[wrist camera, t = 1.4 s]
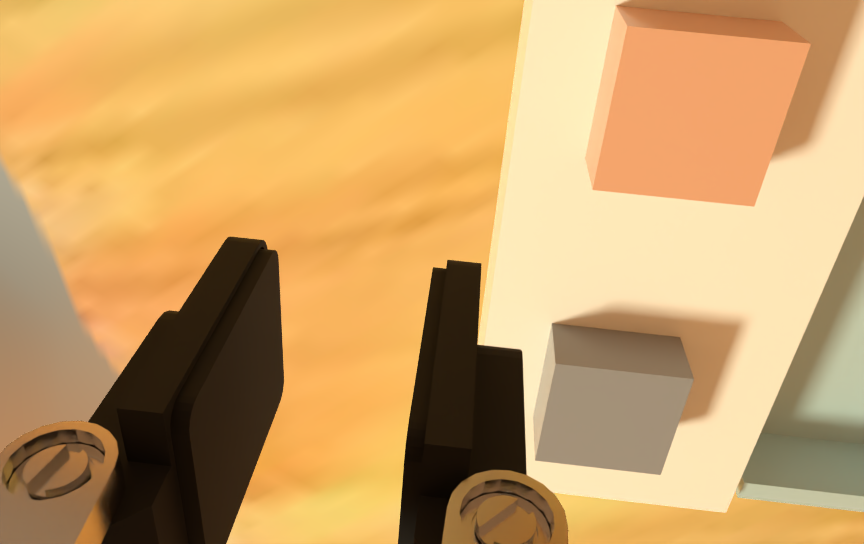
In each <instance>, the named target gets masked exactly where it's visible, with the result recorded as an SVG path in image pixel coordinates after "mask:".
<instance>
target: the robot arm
mask: <svg viewBox="0 0 864 544" xmlns="http://www.w3.org/2000/svg"><path fill="white" fill-rule="evenodd" d="M480 280H481V263H472V262H463V261H453V260H447V268H446V269H443V268H434V267H433V271H432V278H431V284H430V290H429V297H428V303H427V310H426V316H425V322H424V329H423V335H422V342H421V348H420V354H419V361H418V367H417V373H416V380H415V386H414V393H413V399H412V405H411V412H410V418H409V425H408V432H407V440H406V449H405V460H404V473H403V486H402V499H401V512H400V525H399V539H398V544H568V524H567V519H566V515H565V510H564V509H563V507H562V505H561V504H560V502H559V500H558V499H557V497H556V496H555V495H554V494H553V493H552V492H551V491H550V490H549V489H548V488H547V487H546V486H545V485H544V484H542V483H540V482H539V481H537V480H535V479H533V478H531V477H530V476H528V475H527V470H526V440H525V410H524V380H523V355H522V350H521V349H512V348H503V347H494V346H485V345H477V338H478V319H479V299H480ZM283 385H284V371H283V349H282V327H281V305H280V284H279V262H278V254H277V251H276V250H267V245H266V242H265V241H264V240H257V239H247V238H238V237H228V238H227V239H226V240H225V242H224V243H223V245H222V246H221V248H220V249H219V251H218V252H217V254H216V255H215V257H214V259H213V260H212V262H211V263H210V265H209V266H208V268H207V269H206V271H205V272H204V274H203V275H202V277H201V279H200V280H199V282H198V283H197V285H196V286H195V288H194V289H193V291H192V292H191V294H190V295H189V297H188V299H187V300H186V302H185V303H184V305H183V306H182V308H181V309H180V311H179V312H177V311H167V312H164V313H163V314H162V315H161V316H160V318H159V319H158V320H157V322H156V323H155V325H154V326H153V327H152V329H151V330H150V332H149V333H148V335H147V336H146V338H145V339H144V341H143V342H142V344H141V345H140V347H139V348H138V350H137V351H136V352H135V354H134V355H133V357H132V358H131V360H130V361H129V363H128V364H127V366H126V367H125V369H124V370H123V372H122V373H121V374H120V376H119V377H118V379H117V380H116V382H115V383H114V385H113V386H112V388H111V389H110V391H109V392H108V394H107V395H106V396H105V398H104V399H103V401H102V403H101V404H100V405H99V407H98V408H97V410H96V411H95V413H94V414H93V416H92V417H91V419H90V420H89V421H88V422H84V421H62V422H58V423H53V424H49V425H45V426H41V427H39V428H37V429H34V430H32V431H30V432H28V433H25V434H23V435H22V436H20V437H19V438H17V439H16V440H14V441H13V442H11V443H10V444H9V445H7V446H6V448H4V449H3V451H2V452H1V453H0V544H226V543H227V540H228V537H229V535H230V532H231V529H232V527H233V524H234V522H235V519H236V516H237V514H238V511H239V508H240V506H241V503H242V500H243V498H244V495H245V493H246V490H247V487H248V485H249V482H250V479H251V477H252V474H253V472H254V469H255V466H256V464H257V461H258V458H259V456H260V453H261V450H262V448H263V445H264V443H265V440H266V437H267V435H268V432H269V429H270V427H271V424H272V422H273V419H274V416H275V414H276V411H277V408H278V406H279V403H280V400H281V397H282V392H283Z"/></svg>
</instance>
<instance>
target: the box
mask: <svg viewBox="0 0 864 544" xmlns="http://www.w3.org/2000/svg"><path fill="white" fill-rule="evenodd" d="M736 494H737V497H738V498H747V499H755V500H764V501H773V502H781V503H790V504H799V505H807V506H816V507H824V508H833V509H842V510H850V511H859V512H864V197H863V199H862V201H861V204H860V206H859V208H858V210H857V213H856V215H855V217H854V220H853V222H852V224H851V226H850V229H849V231H848V233H847V236H846V238H845V240H844V243H843V245H842V247H841V249H840V252H839V254H838V256H837V259H836V261H835V263H834V266H833V268H832V270H831V272H830V275H829V277H828V279H827V282H826V284H825V286H824V289H823V291H822V293H821V295H820V298H819V300H818V302H817V305H816V307H815V309H814V311H813V314H812V316H811V318H810V321H809V323H808V325H807V328H806V330H805V332H804V334H803V337H802V339H801V341H800V344H799V346H798V348H797V351H796V353H795V355H794V357H793V360H792V362H791V364H790V367H789V369H788V371H787V374H786V376H785V378H784V380H783V383H782V385H781V387H780V390H779V392H778V394H777V396H776V399H775V401H774V403H773V406H772V408H771V410H770V413H769V415H768V417H767V419H766V422H765V424H764V426H763V429H762V431H761V433H760V436H759V438H758V440H757V442H756V445H755V447H754V449H753V452H752V454H751V456H750V459H749V461H748V463H747V465H746V468H745V470H744V472H743V475H742V477H741V479H740V481H739V484H738V486H737V488H736Z"/></svg>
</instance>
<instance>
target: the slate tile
mask: <svg viewBox="0 0 864 544" xmlns="http://www.w3.org/2000/svg"><path fill="white" fill-rule="evenodd" d="M693 381H694V377H693V374H692V371H691V368H690V365H689V362H688V359H687V356H686V353H685V350H684V347H683V344H682V341H681V338H680V337H674V336H665V335H656V334H647V333H638V332H628V331H619V330H610V329H601V328H592V327H583V326H573V325H564V324H555V323H552V325H551V330H550V335H549V340H548V345H547V350H546V355H545V360H544V365H543V370H542V374H541V379H540V384H539V389H538V394H537V399H536V404H535V409H534V414H533V428H534V450H535V461H543V462H551V463H560V464H569V465H577V466H586V467H595V468H603V469H612V470H621V471H629V472H638V473H647V474H655V475H661V473H662V470H663V467H664V464H665V461H666V458H667V456H668V453H669V450H670V447H671V444H672V441H673V438H674V435H675V433H676V430H677V427H678V424H679V421H680V418H681V415H682V413H683V410H684V407H685V404H686V401H687V398H688V395H689V392H690V390H691V387H692V384H693Z"/></svg>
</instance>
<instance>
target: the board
mask: <svg viewBox="0 0 864 544" xmlns="http://www.w3.org/2000/svg"><path fill="white" fill-rule="evenodd" d="M615 6H625V7H636V8H646V9H657V10H667V11H678V12H688V13H699V14H709V15H720V16H730V17H741V18H751V19H761V20H772V21H782V22H783V23H785V24H786V25H787V26H789V27H790V28H791V29H792V30H794V31H795V32H796V33H798V34H799V35H800V36H802V37H803V38H804V39H806V40H807V41H808V42H810V43H811V46H810V48H809V51H808V54H807V57H806V60H805V63H804V66H803V68H802V71H801V74H800V77H799V80H798V83H797V86H796V89H795V91H794V94H793V97H792V100H791V103H790V106H789V109H788V111H787V114H786V117H785V120H784V123H783V126H782V129H781V132H780V134H779V137H778V140H777V143H776V146H775V149H774V152H773V154H772V157H771V160H770V163H769V166H768V169H767V172H766V175H765V177H764V180H763V183H762V186H761V189H760V192H759V195H758V197H757V200H756V203H755V206H754V207H752V206H743V205H733V204H723V203H714V202H704V201H694V200H685V199H675V198H665V197H656V196H646V195H636V194H627V193H617V192H607V191H598V190H592V186H591V181H590V177H589V173H588V169H587V164H586V160H585V156H586V151H587V146H588V141H589V136H590V131H591V126H592V121H593V116H594V111H595V106H596V101H597V96H598V91H599V86H600V81H601V76H602V71H603V66H604V61H605V56H606V51H607V46H608V41H609V36H610V31H611V26H612V21H613V16H614V11H615ZM863 197H864V0H524V7H523V15H522V22H521V29H520V37H519V44H518V51H517V59H516V66H515V73H514V81H513V88H512V96H511V103H510V110H509V118H508V125H507V132H506V140H505V147H504V154H503V162H502V169H501V176H500V184H499V191H498V199H497V206H496V213H495V221H494V228H493V235H492V243H491V250H490V257H489V265H488V272H487V279H486V287H485V294H484V302H483V309H482V316H481V324H480V331H479V338H478V345H485V346H494V347H503V348H512V349H521V350H522V355H523V380H524V410H525V440H526V470H527V475H528V476H530V477H531V478H533V479H535V480H537V481H539V482H540V483H542V484H544V485H545V486H546V487H547V488H548V489H549V490H550V491H551V492H552V493H561V494H569V495H578V496H587V497H595V498H604V499H612V500H621V501H630V502H638V503H647V504H655V505H664V506H672V507H681V508H690V509H698V510H707V511H715V512H724V513H726V511H727V509H728V507H729V504H730V502H731V500H732V498H733V495H734V493H735V491H736V488H737V486H738V484H739V481H740V479H741V477H742V475H743V472H744V470H745V468H746V465H747V463H748V461H749V459H750V456H751V454H752V452H753V449H754V447H755V445H756V442H757V440H758V438H759V436H760V433H761V431H762V429H763V426H764V424H765V422H766V419H767V417H768V415H769V413H770V410H771V408H772V406H773V403H774V401H775V399H776V396H777V394H778V392H779V390H780V387H781V385H782V383H783V380H784V378H785V376H786V374H787V371H788V369H789V367H790V364H791V362H792V360H793V357H794V355H795V353H796V351H797V348H798V346H799V344H800V341H801V339H802V337H803V334H804V332H805V330H806V328H807V325H808V323H809V321H810V318H811V316H812V314H813V311H814V309H815V307H816V305H817V302H818V300H819V298H820V295H821V293H822V291H823V289H824V286H825V284H826V282H827V279H828V277H829V275H830V272H831V270H832V268H833V266H834V263H835V261H836V259H837V256H838V254H839V252H840V249H841V247H842V245H843V243H844V240H845V238H846V236H847V233H848V231H849V229H850V226H851V224H852V222H853V220H854V217H855V215H856V213H857V210H858V208H859V206H860V204H861V201H862V199H863ZM552 323H555V324H564V325H573V326H583V327H592V328H601V329H610V330H619V331H628V332H638V333H647V334H656V335H665V336H674V337H680V338H681V341H682V344H683V347H684V350H685V353H686V356H687V359H688V362H689V365H690V368H691V371H692V374H693V377H694V381H693V384H692V387H691V390H690V392H689V395H688V398H687V401H686V404H685V407H684V410H683V413H682V415H681V418H680V421H679V424H678V427H677V430H676V433H675V435H674V438H673V441H672V444H671V447H670V450H669V453H668V456H667V458H666V461H665V464H664V467H663V470H662V473H661V475H655V474H647V473H638V472H629V471H621V470H612V469H603V468H595V467H586V466H577V465H569V464H560V463H551V462H543V461H535V450H534V428H533V414H534V409H535V404H536V399H537V394H538V389H539V384H540V379H541V374H542V370H543V365H544V360H545V355H546V350H547V345H548V340H549V335H550V330H551V325H552Z"/></svg>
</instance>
